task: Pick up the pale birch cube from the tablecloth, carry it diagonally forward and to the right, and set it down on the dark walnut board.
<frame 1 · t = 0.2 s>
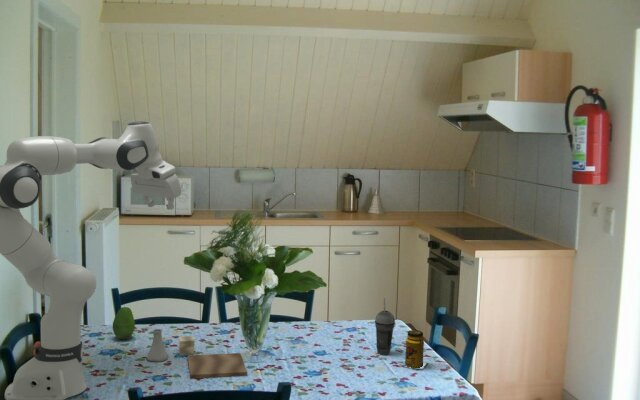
hand: (160, 207, 230), 52 cm above the table, tool tilted 20°, fingers open, 8 cm apart
beverage cup: (383, 353, 247), on the table
condiment: (415, 365, 236), on the table
avocado: (123, 339, 253), on the table
flask: (157, 359, 234), on the table
birch cube: (186, 352, 241), on the table
walnut board: (216, 367, 228), on the table
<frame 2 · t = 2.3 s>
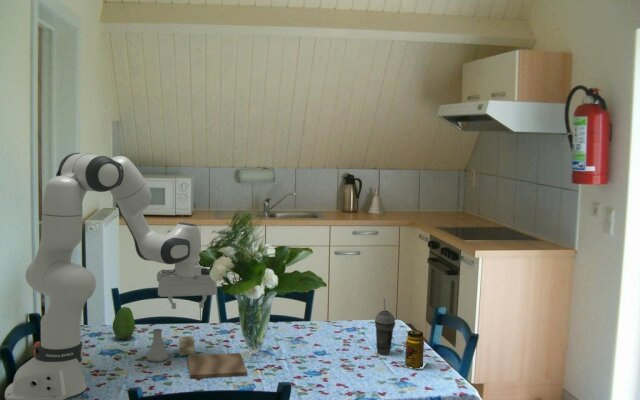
hand: (187, 307, 240), 16 cm above the table, tool pointing down, fingers open, 8 cm apart
nothing on the table moved.
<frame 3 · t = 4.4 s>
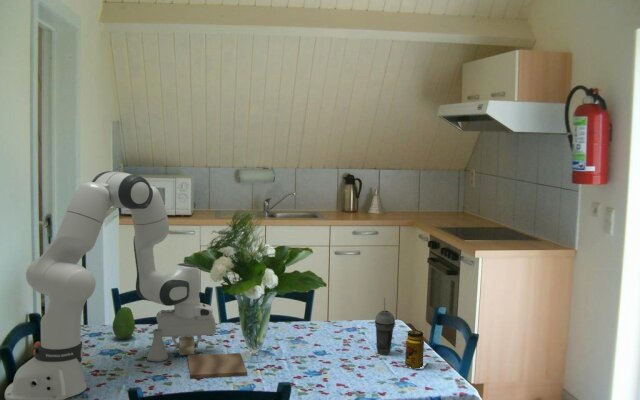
hand: (186, 347, 241), 2 cm above the table, tool pointing down, fingers closed on birch cube, 5 cm apart
birch cube: (186, 352, 241), on the table, touching gripper
everything else where it was.
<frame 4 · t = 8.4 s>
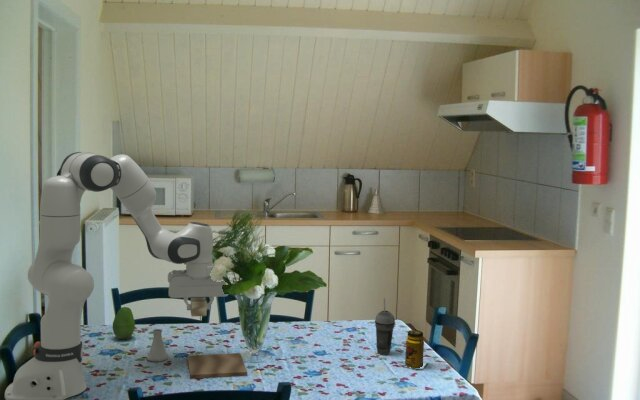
hand: (198, 309, 234), 17 cm above the table, tool pointing down, fingers closed on birch cube, 5 cm apart
birch cube: (198, 314, 234), point 15 cm above the table, touching gripper
everything else where it was.
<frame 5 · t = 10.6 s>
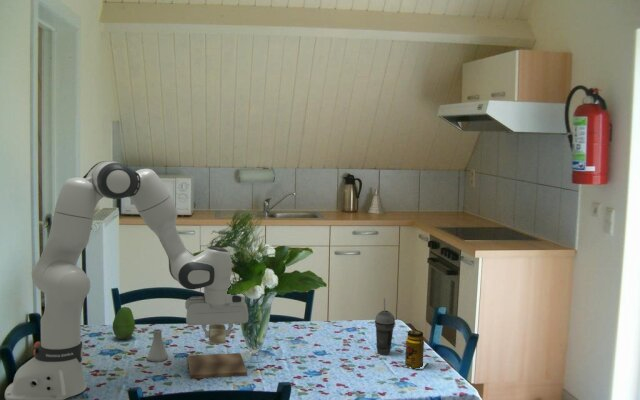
hand: (217, 336, 227), 10 cm above the table, tool pointing down, fingers closed on birch cube, 5 cm apart
birch cube: (217, 341, 227), point 9 cm above the table, touching gripper
everything else where it was.
when the fingers open (5 cm above the table, at t = 12.4 s): birch cube drops 2 cm, resting on walnut board.
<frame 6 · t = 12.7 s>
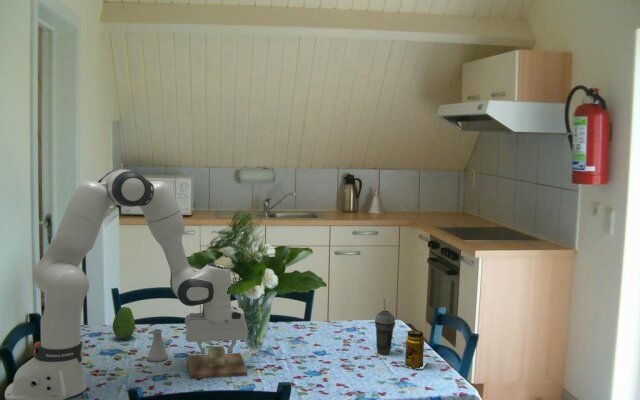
hand: (216, 353, 227), 5 cm above the table, tool pointing down, fingers open, 8 cm apart
birch cube: (216, 363, 228), point 1 cm above the table, touching walnut board
everything else where it was.
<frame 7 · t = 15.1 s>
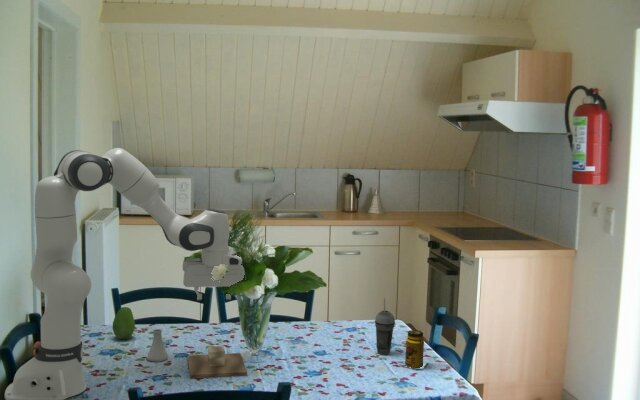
hand: (214, 299, 227), 22 cm above the table, tool pointing down, fingers open, 8 cm apart
nothing on the table moved.
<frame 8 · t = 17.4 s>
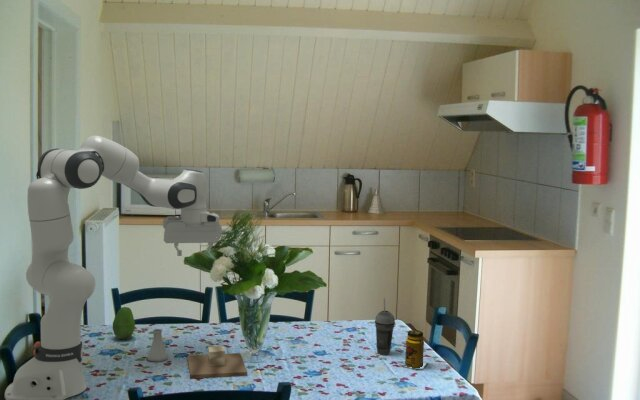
hand: (193, 255, 240), 34 cm above the table, tool pointing down, fingers open, 8 cm apart
nothing on the table moved.
at the end: birch cube inside the target area on the walnut board (0.1 cm from its centre), point 1.2 cm above the walnut board's base; birch cube tilted 0°; the gripper is holding nothing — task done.
